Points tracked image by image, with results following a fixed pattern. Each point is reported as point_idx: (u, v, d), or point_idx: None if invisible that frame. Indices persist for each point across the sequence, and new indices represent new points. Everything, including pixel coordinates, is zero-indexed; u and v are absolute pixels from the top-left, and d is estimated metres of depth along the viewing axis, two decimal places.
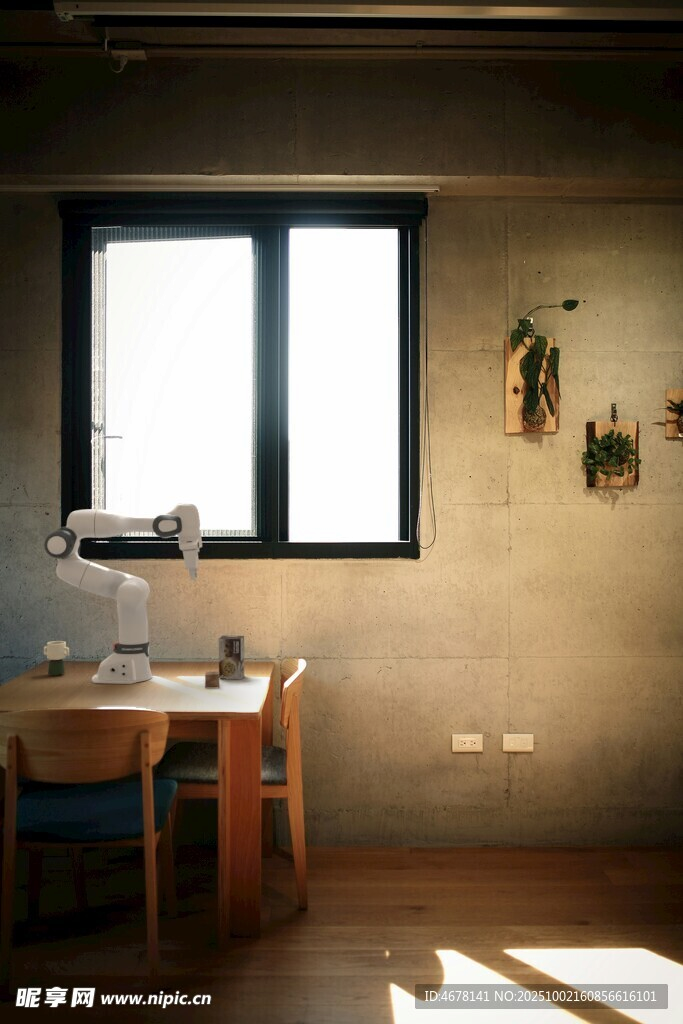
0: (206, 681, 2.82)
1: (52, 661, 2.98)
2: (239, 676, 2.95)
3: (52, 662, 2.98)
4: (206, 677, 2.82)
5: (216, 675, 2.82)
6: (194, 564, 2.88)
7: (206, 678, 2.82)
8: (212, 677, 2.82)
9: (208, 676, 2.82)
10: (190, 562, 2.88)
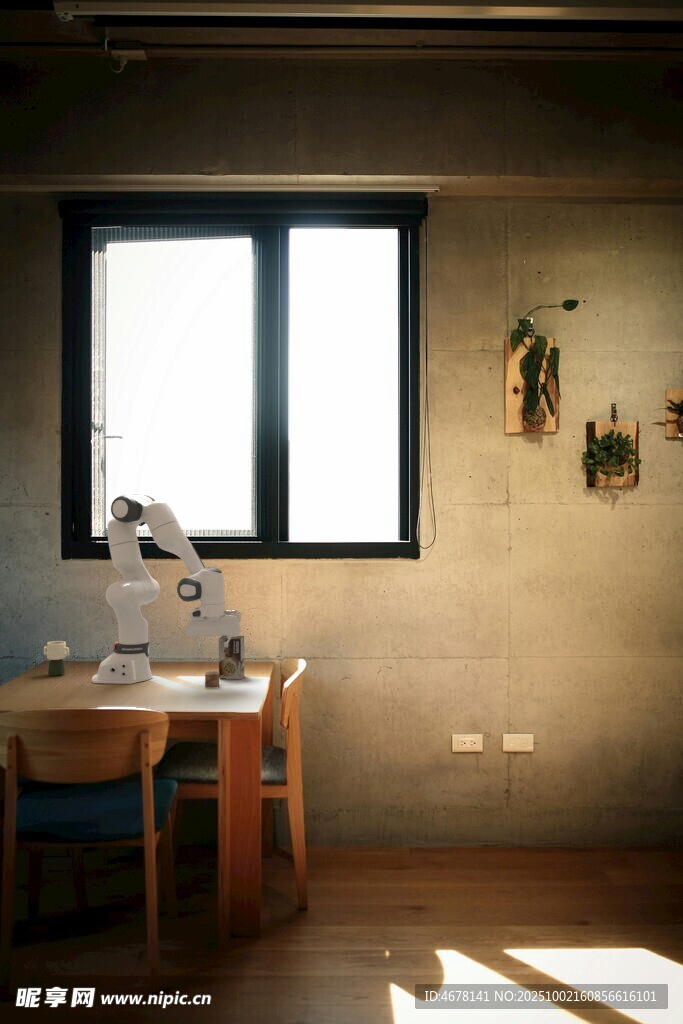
0: (206, 681, 2.82)
1: (52, 661, 2.98)
2: (239, 676, 2.95)
3: (52, 662, 2.98)
4: (206, 677, 2.82)
5: (216, 675, 2.82)
6: None
7: (206, 678, 2.82)
8: (212, 677, 2.82)
9: (208, 676, 2.82)
10: None
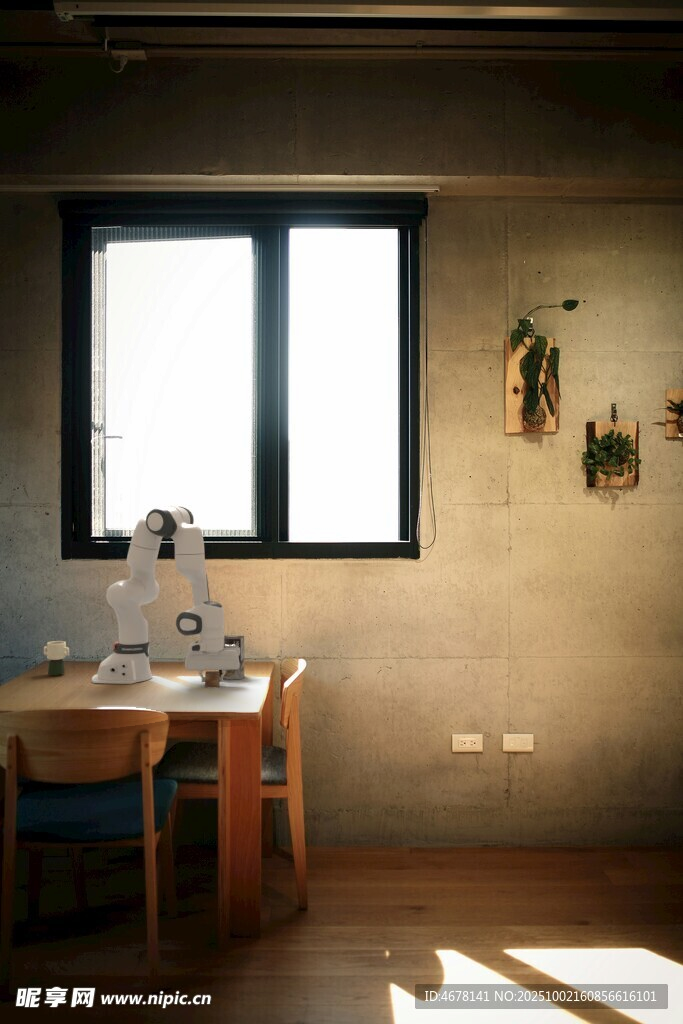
0: (206, 681, 2.82)
1: (52, 661, 2.98)
2: (239, 676, 2.95)
3: (52, 662, 2.98)
4: (206, 677, 2.82)
5: (216, 675, 2.82)
6: (185, 666, 2.82)
7: (206, 678, 2.82)
8: (212, 677, 2.82)
9: (209, 676, 2.82)
10: None
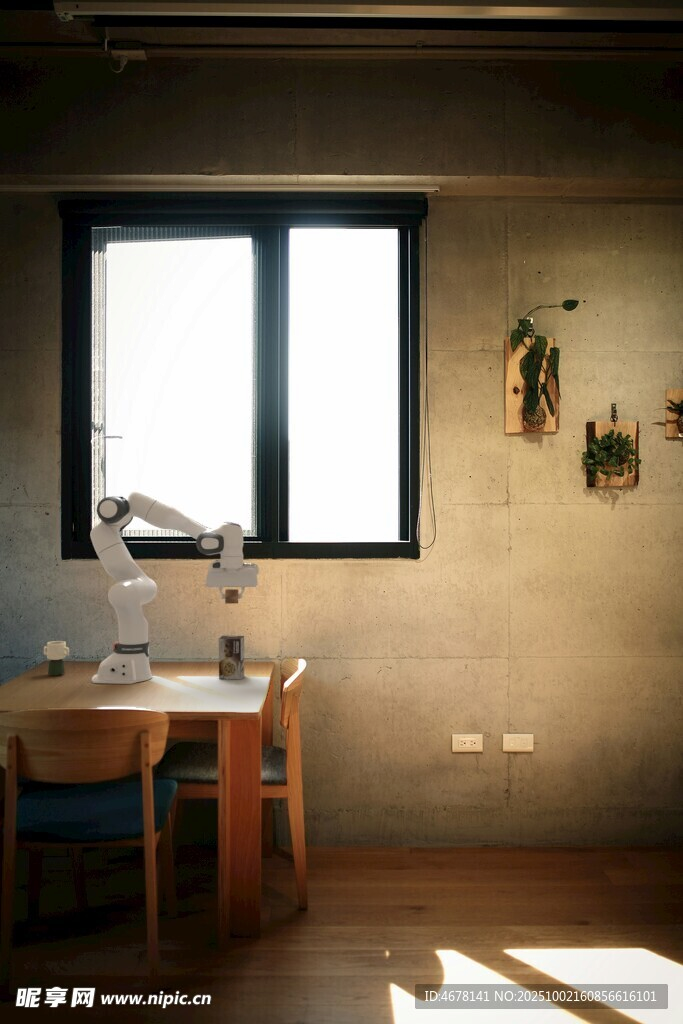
0: (226, 597, 2.95)
1: (52, 661, 2.98)
2: (239, 676, 2.95)
3: (52, 662, 2.98)
4: (226, 593, 2.95)
5: (236, 591, 2.95)
6: None
7: (226, 594, 2.95)
8: (232, 593, 2.95)
9: (228, 592, 2.95)
10: None
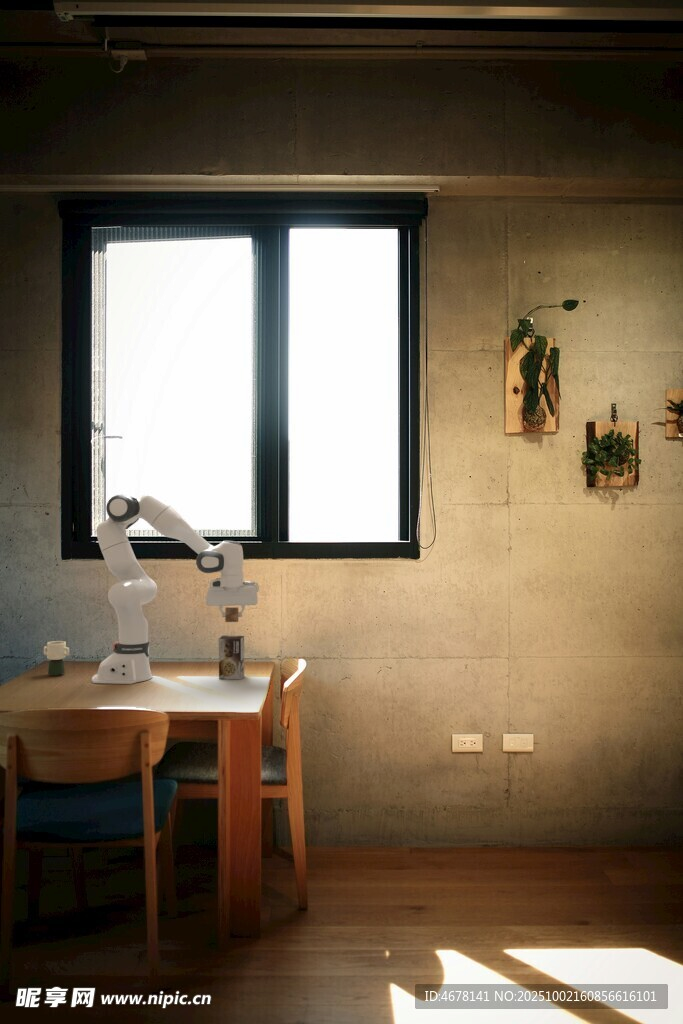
0: (226, 615, 2.95)
1: (52, 661, 2.98)
2: (239, 676, 2.95)
3: (52, 662, 2.98)
4: (226, 612, 2.95)
5: (236, 610, 2.96)
6: (206, 601, 2.95)
7: (226, 612, 2.95)
8: (232, 612, 2.96)
9: (229, 611, 2.95)
10: None
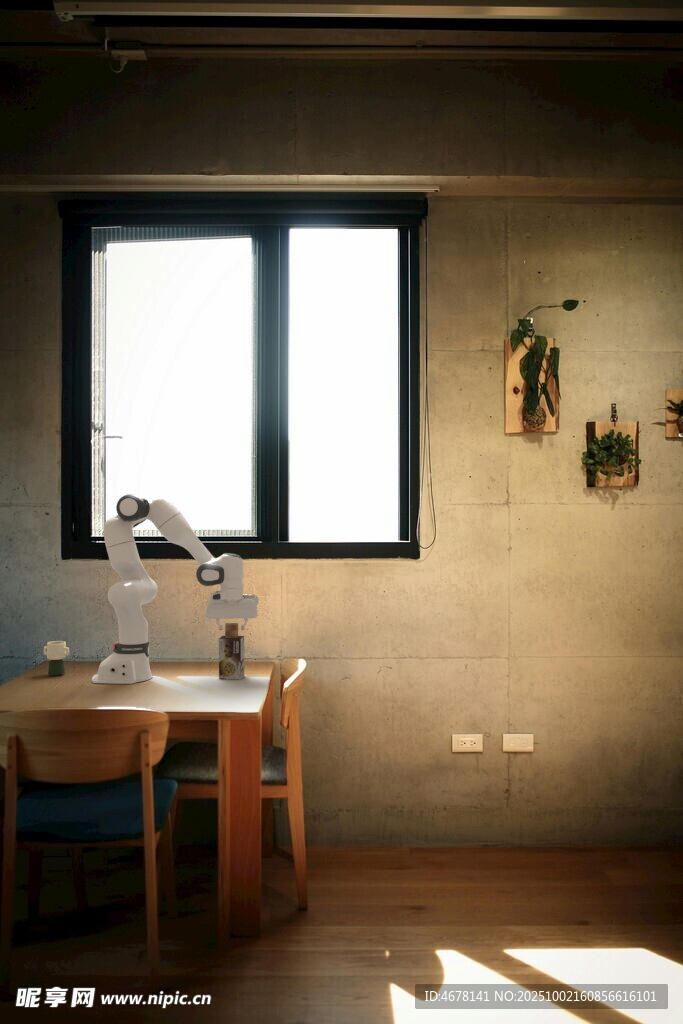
0: (226, 631, 2.95)
1: (52, 661, 2.98)
2: (239, 676, 2.95)
3: (52, 662, 2.98)
4: (226, 628, 2.95)
5: (235, 626, 2.96)
6: None
7: (226, 628, 2.95)
8: (232, 628, 2.96)
9: (228, 627, 2.95)
10: None
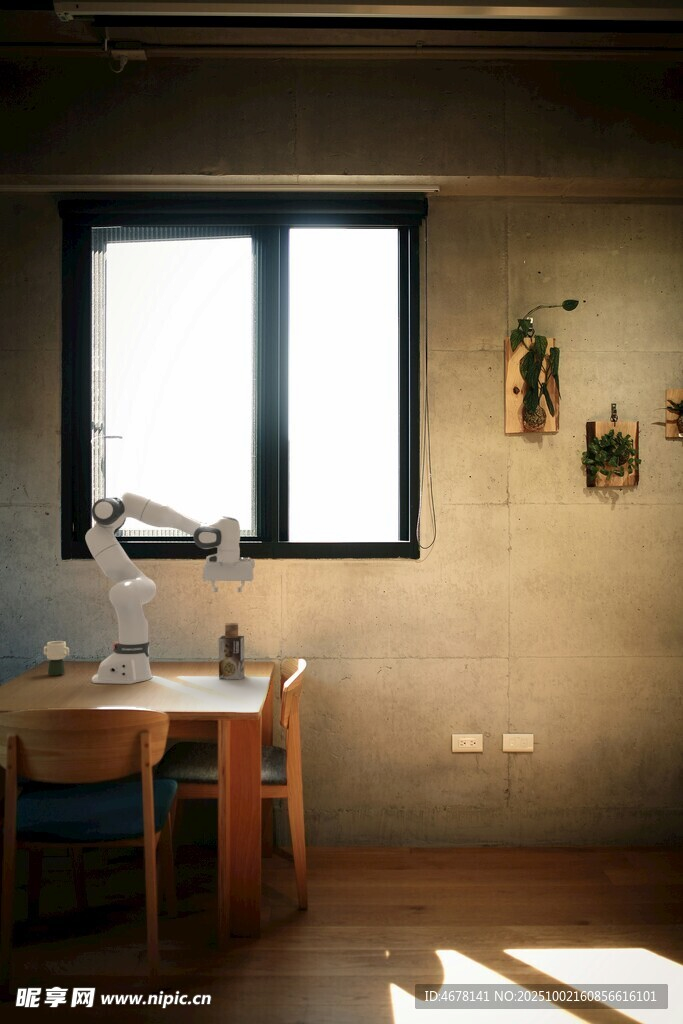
0: (226, 631, 2.95)
1: (52, 661, 2.98)
2: (239, 676, 2.95)
3: (52, 662, 2.98)
4: (226, 628, 2.95)
5: (235, 626, 2.96)
6: None
7: (226, 628, 2.95)
8: (232, 628, 2.96)
9: (228, 627, 2.95)
10: None
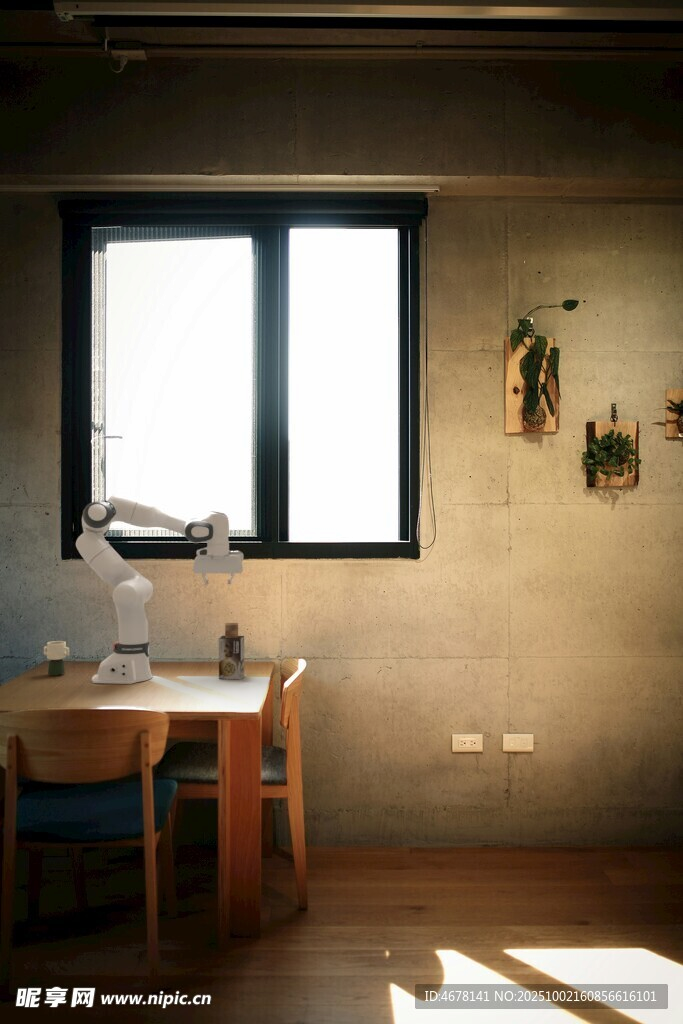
0: (226, 631, 2.95)
1: (52, 661, 2.98)
2: (239, 676, 2.95)
3: (52, 662, 2.98)
4: (226, 627, 2.95)
5: (235, 626, 2.96)
6: (193, 569, 3.10)
7: (226, 628, 2.95)
8: (232, 628, 2.96)
9: (228, 627, 2.95)
10: None
